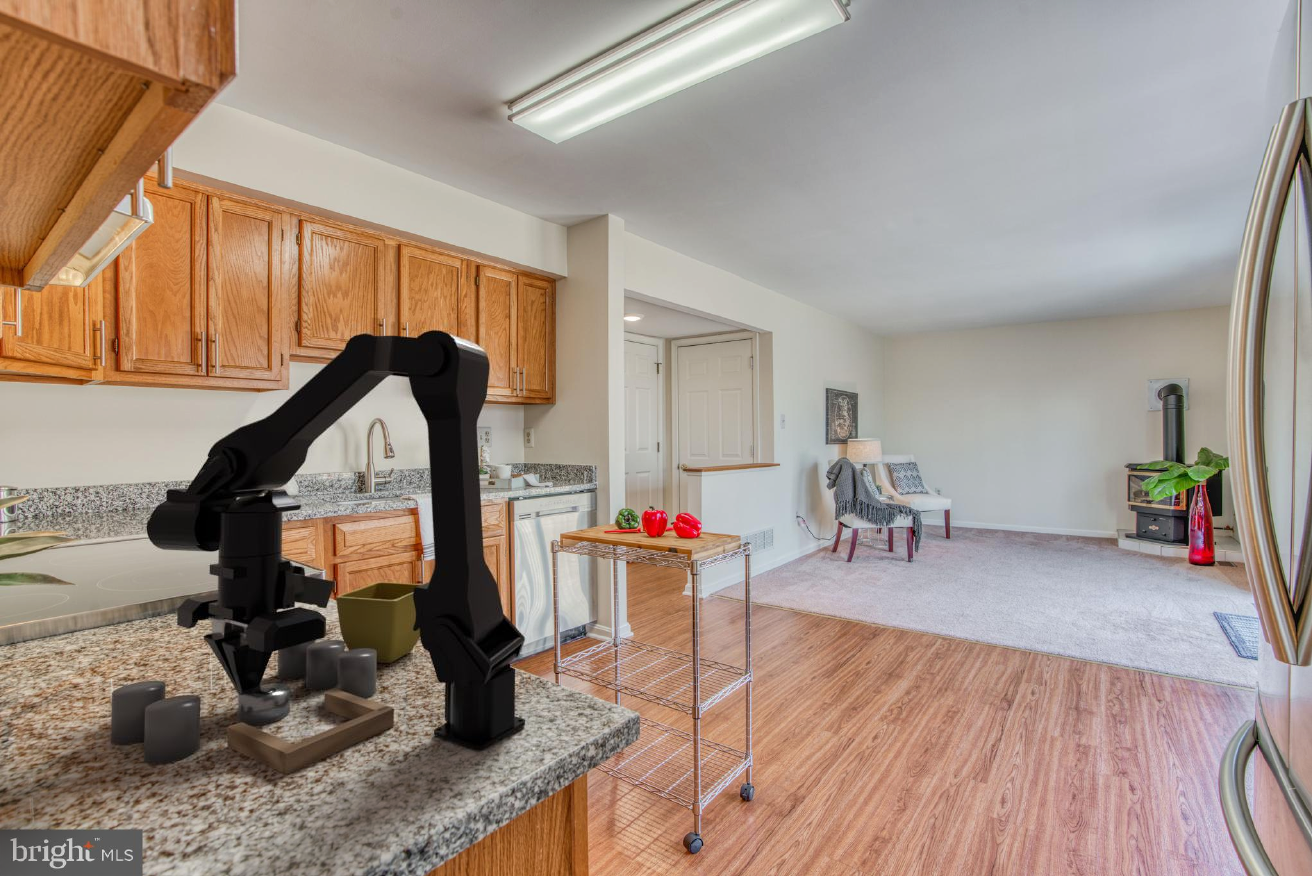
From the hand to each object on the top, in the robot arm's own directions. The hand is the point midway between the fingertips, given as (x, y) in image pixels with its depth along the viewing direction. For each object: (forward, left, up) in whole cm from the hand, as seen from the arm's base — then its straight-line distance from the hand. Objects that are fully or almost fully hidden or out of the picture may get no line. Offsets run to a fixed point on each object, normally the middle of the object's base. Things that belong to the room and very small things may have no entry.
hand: (248, 698), depth 65 cm
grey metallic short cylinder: (-3, 0, -1) cm, 3 cm away
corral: (-12, 0, -1) cm, 12 cm away
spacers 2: (0, -8, -1) cm, 8 cm away
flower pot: (+2, -18, -1) cm, 18 cm away
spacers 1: (-1, +9, -1) cm, 9 cm away
